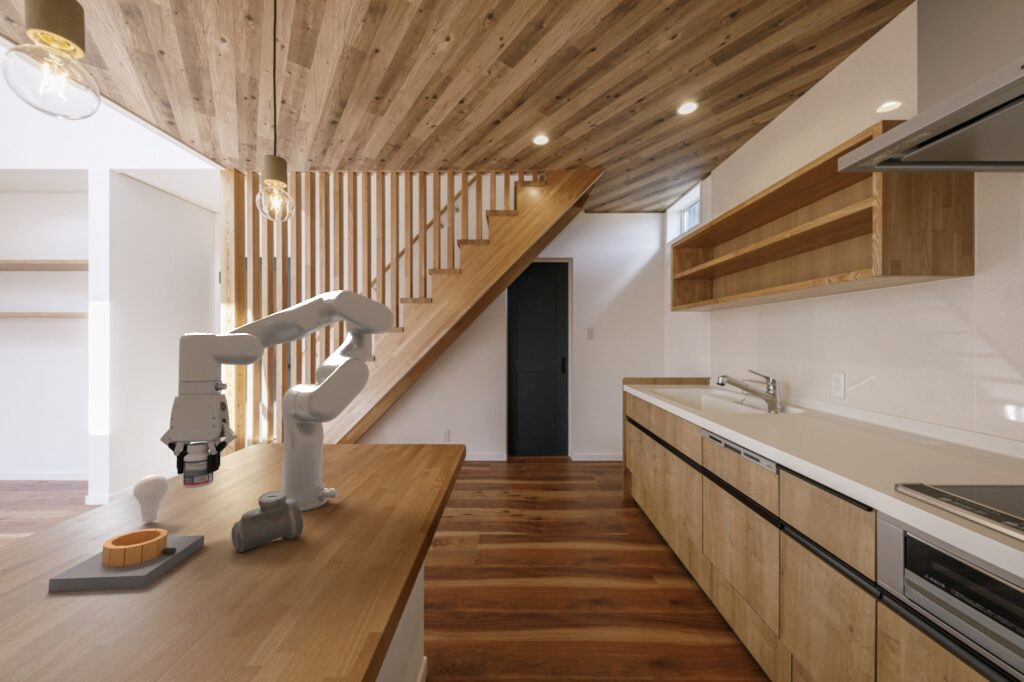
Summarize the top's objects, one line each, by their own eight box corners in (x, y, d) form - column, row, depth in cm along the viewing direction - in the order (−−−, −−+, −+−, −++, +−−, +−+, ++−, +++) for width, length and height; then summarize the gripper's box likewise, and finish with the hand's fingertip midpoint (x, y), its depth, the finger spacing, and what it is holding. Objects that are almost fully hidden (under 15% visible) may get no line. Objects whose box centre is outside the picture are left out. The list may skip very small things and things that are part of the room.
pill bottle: (193, 481, 93) (194, 441, 93) (218, 480, 94) (219, 441, 94) (176, 488, 88) (177, 446, 88) (203, 488, 88) (203, 446, 89)
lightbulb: (145, 529, 91) (148, 479, 92) (123, 527, 92) (126, 477, 93) (173, 519, 97) (176, 472, 98) (152, 517, 98) (155, 470, 99)
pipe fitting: (292, 526, 93) (290, 482, 92) (306, 540, 88) (304, 494, 87) (229, 549, 85) (226, 501, 84) (240, 566, 79) (237, 515, 78)
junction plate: (203, 545, 84) (205, 520, 84) (143, 587, 68) (145, 556, 69) (127, 547, 83) (129, 522, 83) (48, 591, 67) (50, 560, 67)
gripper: (250, 387, 96) (249, 466, 96) (169, 388, 94) (168, 468, 93) (232, 390, 89) (231, 475, 88) (144, 391, 87) (142, 478, 86)
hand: (198, 471), depth 91 cm, fingers closed on pill bottle, 5 cm apart
